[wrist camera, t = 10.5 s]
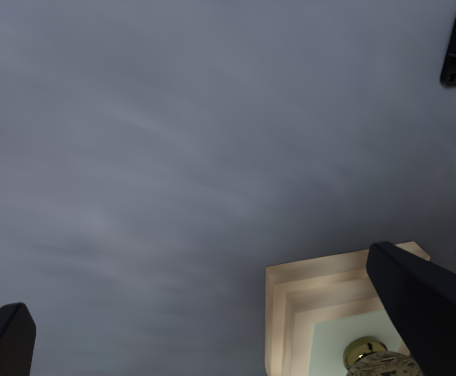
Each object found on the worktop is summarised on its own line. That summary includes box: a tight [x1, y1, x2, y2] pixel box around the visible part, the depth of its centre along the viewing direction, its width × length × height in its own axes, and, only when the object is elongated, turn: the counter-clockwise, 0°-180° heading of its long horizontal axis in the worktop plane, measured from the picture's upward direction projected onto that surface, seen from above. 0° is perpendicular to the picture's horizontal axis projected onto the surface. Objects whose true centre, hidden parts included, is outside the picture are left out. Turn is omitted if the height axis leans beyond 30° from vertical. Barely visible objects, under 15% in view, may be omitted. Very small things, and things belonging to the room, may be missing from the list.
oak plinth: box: [265, 241, 430, 376], centre depth 29 cm, size 13×13×4 cm
